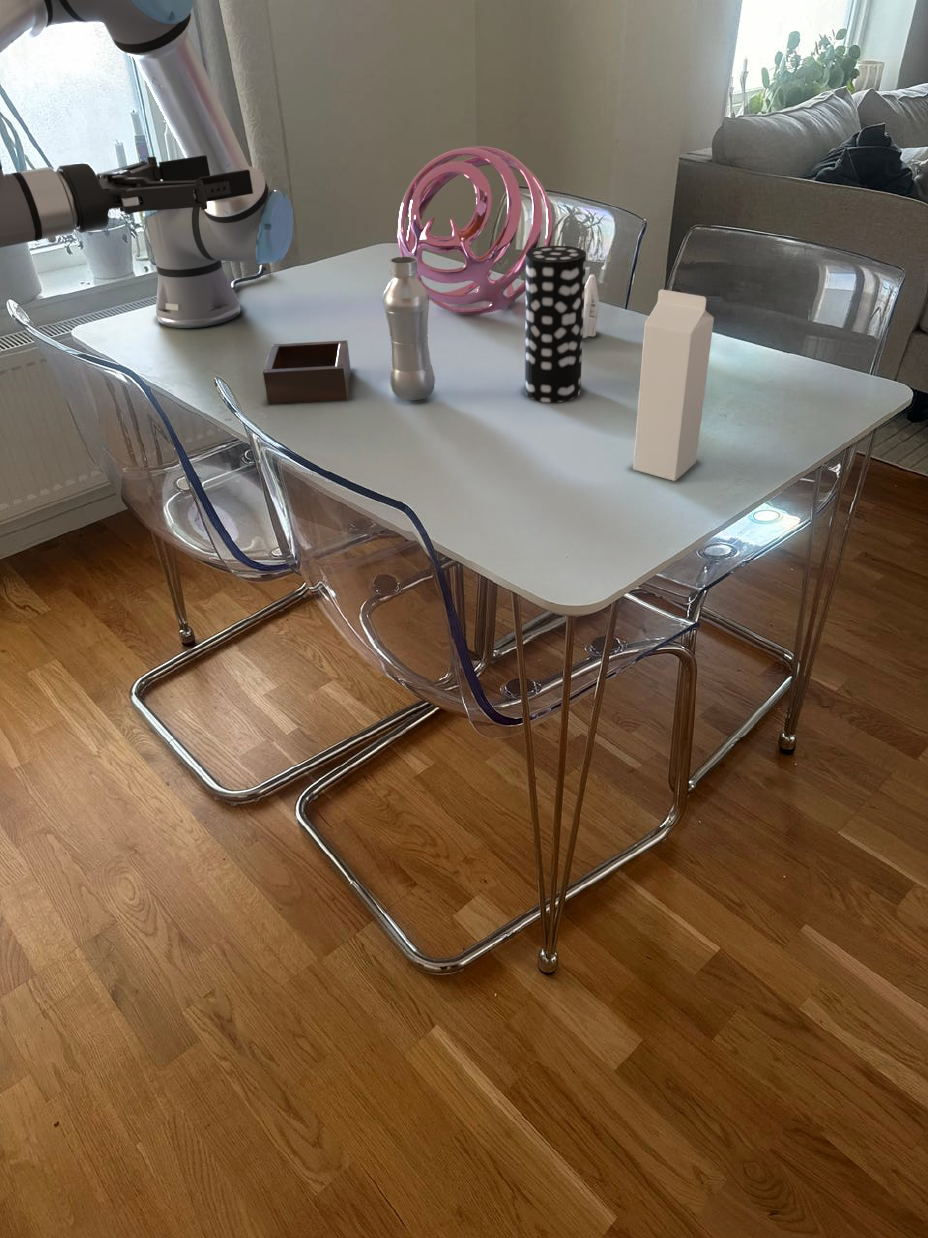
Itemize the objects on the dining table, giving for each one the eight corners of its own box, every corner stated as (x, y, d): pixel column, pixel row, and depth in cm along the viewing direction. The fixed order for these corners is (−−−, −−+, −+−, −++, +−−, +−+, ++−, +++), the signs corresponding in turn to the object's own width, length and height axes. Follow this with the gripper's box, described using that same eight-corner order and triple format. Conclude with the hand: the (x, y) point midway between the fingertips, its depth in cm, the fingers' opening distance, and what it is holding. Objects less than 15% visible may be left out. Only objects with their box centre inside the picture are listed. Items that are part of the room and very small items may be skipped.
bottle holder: (276, 374, 148) (271, 344, 145) (350, 370, 148) (347, 340, 145) (268, 404, 138) (262, 372, 136) (347, 400, 139) (343, 368, 136)
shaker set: (556, 353, 151) (558, 284, 145) (538, 347, 154) (539, 279, 147) (604, 334, 158) (607, 267, 151) (585, 328, 160) (588, 263, 153)
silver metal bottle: (430, 406, 136) (421, 267, 124) (386, 404, 137) (373, 265, 125) (440, 389, 141) (432, 253, 129) (397, 387, 142) (386, 252, 130)
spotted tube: (585, 383, 141) (592, 247, 129) (573, 405, 134) (578, 263, 122) (533, 378, 143) (534, 244, 131) (518, 399, 137) (518, 260, 125)
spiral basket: (478, 165, 179) (417, 92, 154) (599, 217, 170) (555, 149, 145) (412, 299, 185) (344, 249, 160) (526, 356, 176) (472, 314, 151)
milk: (654, 452, 121) (670, 281, 108) (696, 463, 118) (718, 289, 105) (632, 470, 117) (646, 295, 104) (675, 482, 114) (695, 303, 101)
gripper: (46, 215, 122) (197, 189, 132) (107, 253, 105) (274, 220, 115) (28, 152, 117) (185, 130, 127) (89, 182, 101) (264, 154, 110)
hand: (228, 173), depth 121 cm, fingers open, 13 cm apart
